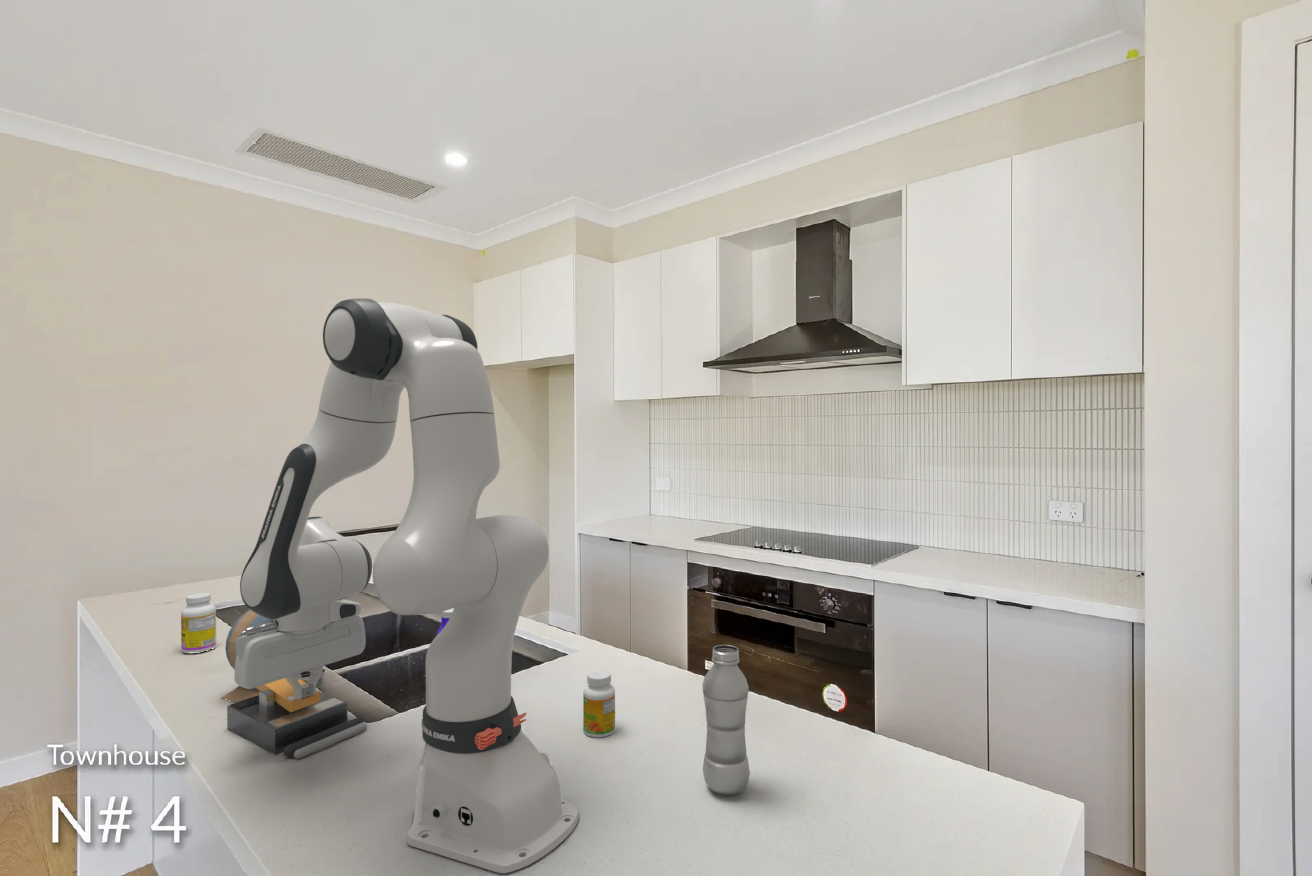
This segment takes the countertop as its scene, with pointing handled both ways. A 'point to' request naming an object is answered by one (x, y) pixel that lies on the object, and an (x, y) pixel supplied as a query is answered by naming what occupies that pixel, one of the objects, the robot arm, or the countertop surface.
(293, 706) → the orange striped box
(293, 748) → the grey rounded bar
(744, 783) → the plastic bottle
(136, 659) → the countertop surface
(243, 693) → the alarm clock
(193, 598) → the supplement bottle
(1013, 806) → the countertop surface
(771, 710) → the countertop surface
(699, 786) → the countertop surface
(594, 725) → the supplement bottle
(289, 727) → the dark grey block
